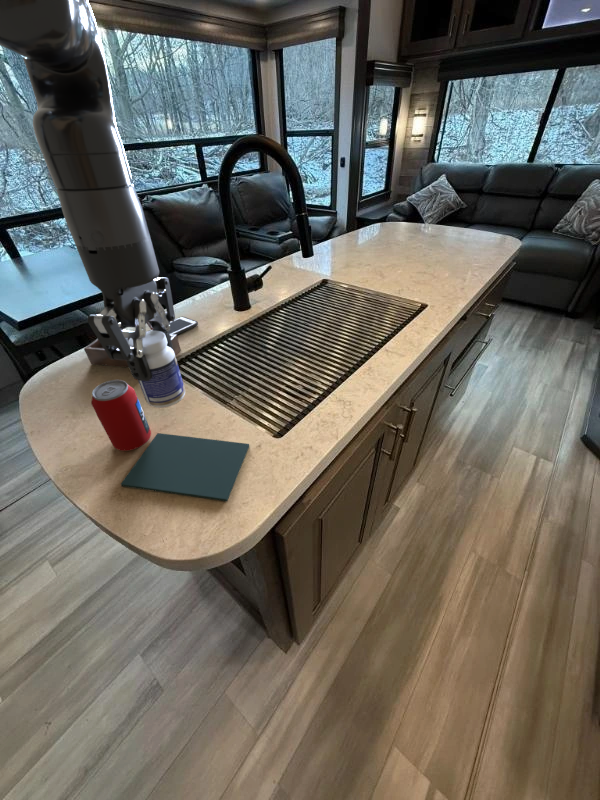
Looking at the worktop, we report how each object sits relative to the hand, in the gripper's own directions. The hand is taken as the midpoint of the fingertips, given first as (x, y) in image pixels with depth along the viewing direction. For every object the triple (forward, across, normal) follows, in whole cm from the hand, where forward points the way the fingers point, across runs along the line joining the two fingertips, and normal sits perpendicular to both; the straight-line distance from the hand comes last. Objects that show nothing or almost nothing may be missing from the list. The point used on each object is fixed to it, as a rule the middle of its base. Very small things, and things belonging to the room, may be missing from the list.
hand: (155, 366), depth 46 cm
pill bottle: (+6, 0, 0) cm, 6 cm away
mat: (+19, +1, +1) cm, 19 cm away
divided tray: (+19, -31, -28) cm, 46 cm away
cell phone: (+19, -46, -26) cm, 56 cm away
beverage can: (+19, -3, -12) cm, 23 cm away
